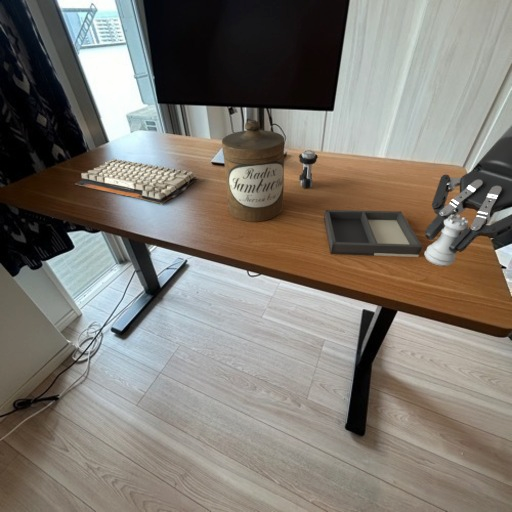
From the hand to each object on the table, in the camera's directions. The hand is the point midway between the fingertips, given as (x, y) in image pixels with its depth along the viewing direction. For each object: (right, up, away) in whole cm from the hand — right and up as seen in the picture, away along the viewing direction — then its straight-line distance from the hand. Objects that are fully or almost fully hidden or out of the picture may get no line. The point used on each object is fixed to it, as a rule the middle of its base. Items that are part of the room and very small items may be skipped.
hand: (439, 244), depth 43 cm
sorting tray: (-4, +3, +19) cm, 20 cm away
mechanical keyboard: (-68, +22, +46) cm, 86 cm away
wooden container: (-29, +11, +31) cm, 44 cm away
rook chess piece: (+2, -3, +3) cm, 5 cm away
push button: (-14, +20, +41) cm, 48 cm away
